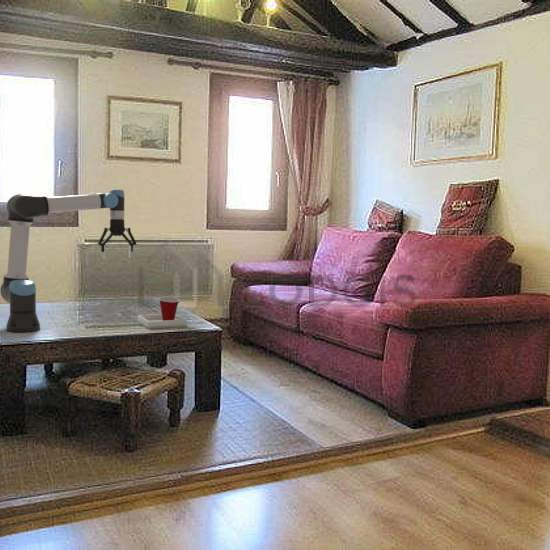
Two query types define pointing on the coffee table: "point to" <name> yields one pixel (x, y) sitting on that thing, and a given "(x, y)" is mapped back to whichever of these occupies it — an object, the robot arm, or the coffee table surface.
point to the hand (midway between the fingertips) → (117, 258)
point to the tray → (161, 321)
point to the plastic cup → (168, 307)
